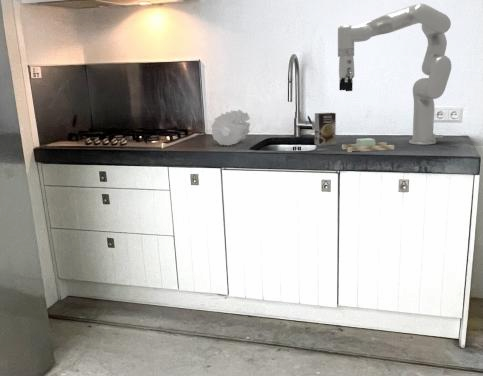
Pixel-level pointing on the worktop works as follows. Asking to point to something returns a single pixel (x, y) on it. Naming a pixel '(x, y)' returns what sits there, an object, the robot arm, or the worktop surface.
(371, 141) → the sage block
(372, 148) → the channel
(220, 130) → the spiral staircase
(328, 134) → the coffee box
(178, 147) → the worktop surface
